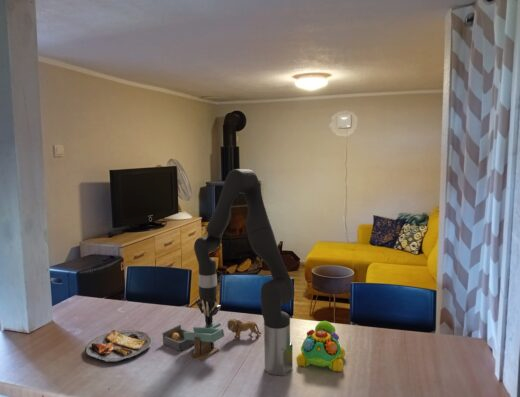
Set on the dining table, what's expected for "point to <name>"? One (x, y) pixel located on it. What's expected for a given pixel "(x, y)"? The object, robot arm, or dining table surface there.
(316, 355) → the turtle toy
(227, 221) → the robot arm
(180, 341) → the tray
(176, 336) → the ball
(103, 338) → the food plate
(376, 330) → the dining table surface
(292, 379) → the dining table surface
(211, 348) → the fulcrum
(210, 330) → the lever
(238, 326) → the lion figurine
